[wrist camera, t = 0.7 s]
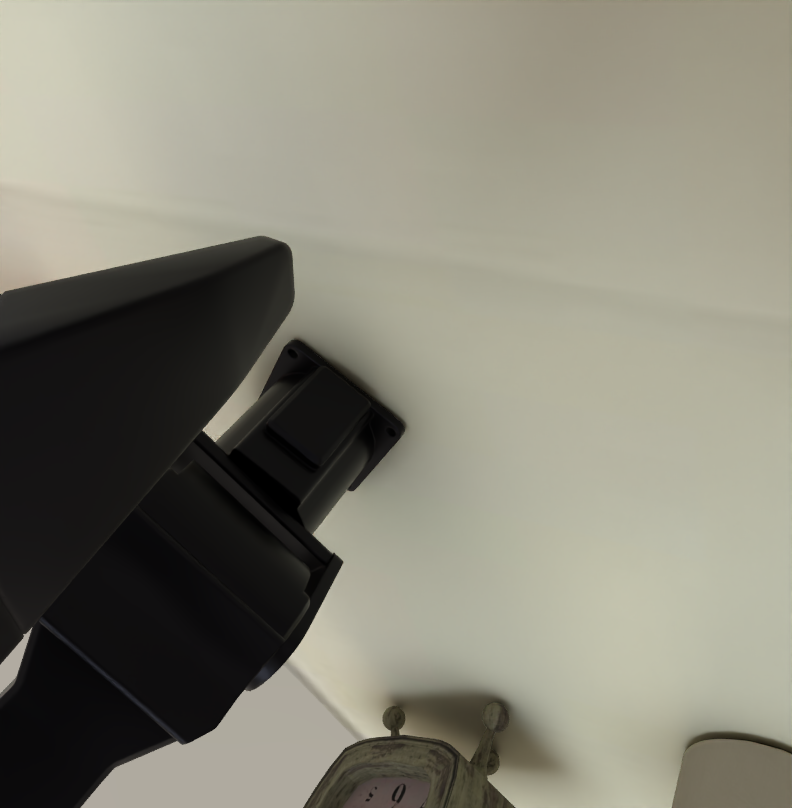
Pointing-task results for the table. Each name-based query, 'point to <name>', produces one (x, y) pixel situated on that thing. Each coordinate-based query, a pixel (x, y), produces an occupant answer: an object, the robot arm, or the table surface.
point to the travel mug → (734, 776)
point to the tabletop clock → (413, 771)
